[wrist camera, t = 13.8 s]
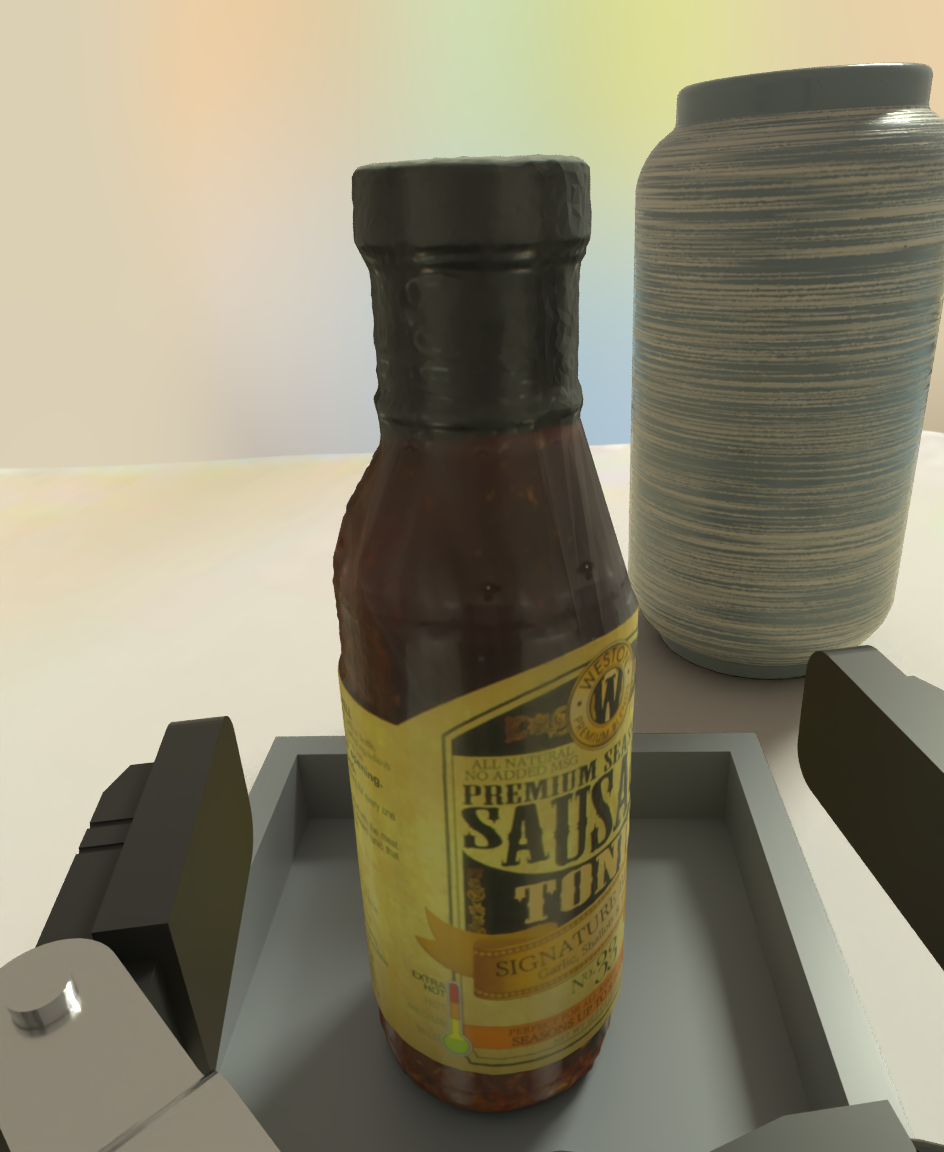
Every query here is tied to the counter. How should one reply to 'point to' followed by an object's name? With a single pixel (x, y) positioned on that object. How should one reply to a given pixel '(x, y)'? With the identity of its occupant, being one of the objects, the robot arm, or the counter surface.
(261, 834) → the tray
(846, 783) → the robot arm
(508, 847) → the sauce bottle
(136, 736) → the counter surface
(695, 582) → the vase
